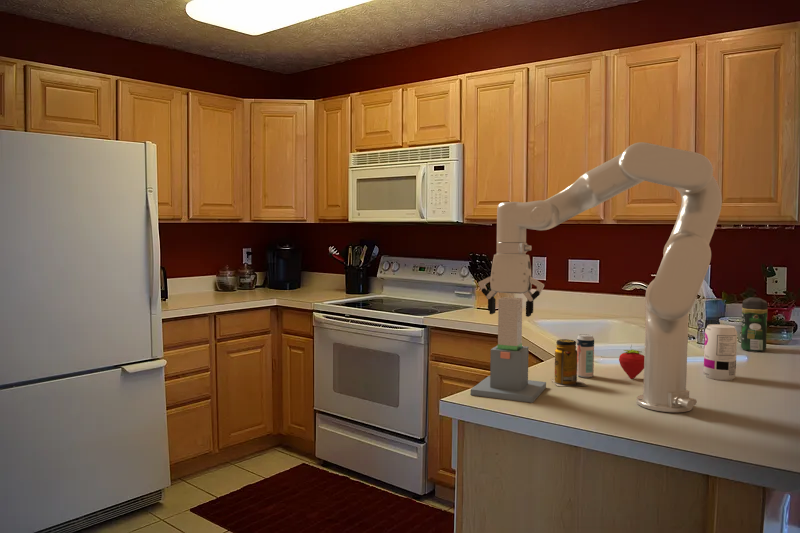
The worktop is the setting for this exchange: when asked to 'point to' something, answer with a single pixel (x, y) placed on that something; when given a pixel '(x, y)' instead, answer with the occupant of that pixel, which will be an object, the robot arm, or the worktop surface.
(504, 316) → the block
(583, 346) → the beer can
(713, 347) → the supplement can
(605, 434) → the worktop surface
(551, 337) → the worktop surface
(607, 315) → the worktop surface
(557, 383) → the condiment
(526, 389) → the sleeve
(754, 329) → the coffee jar
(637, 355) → the strawberry
